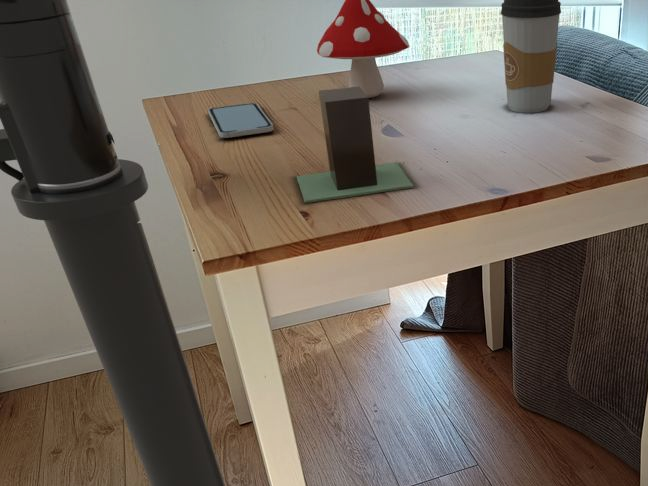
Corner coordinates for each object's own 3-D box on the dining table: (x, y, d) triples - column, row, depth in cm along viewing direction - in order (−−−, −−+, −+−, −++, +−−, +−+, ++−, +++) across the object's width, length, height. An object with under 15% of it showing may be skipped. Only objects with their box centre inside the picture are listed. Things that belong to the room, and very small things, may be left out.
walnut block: (337, 190, 76) (325, 102, 70) (330, 175, 80) (318, 90, 74) (377, 184, 77) (368, 97, 72) (369, 170, 81) (359, 86, 76)
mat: (305, 203, 74) (304, 200, 74) (296, 178, 80) (296, 176, 80) (413, 187, 77) (413, 185, 77) (397, 165, 83) (396, 162, 83)
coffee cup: (490, 105, 104) (489, -6, 95) (537, 96, 107) (540, -12, 98) (519, 118, 98) (520, 1, 89) (568, 109, 101) (574, -5, 92)
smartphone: (256, 102, 106) (274, 126, 94) (257, 107, 106) (275, 132, 95) (206, 108, 104) (219, 133, 92) (208, 114, 104) (220, 140, 93)
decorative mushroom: (417, 85, 115) (411, -16, 106) (406, 108, 104) (397, -3, 95) (334, 86, 116) (321, -14, 108) (314, 109, 105) (298, -1, 96)
